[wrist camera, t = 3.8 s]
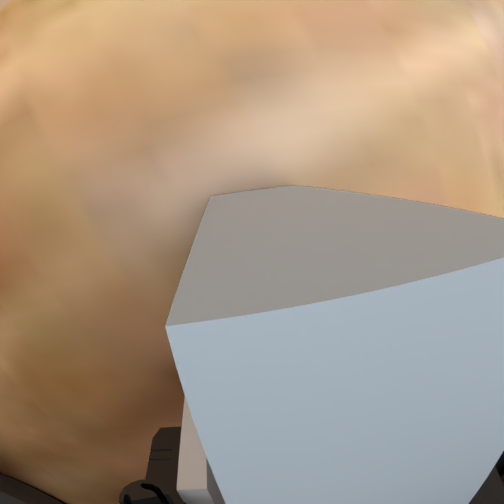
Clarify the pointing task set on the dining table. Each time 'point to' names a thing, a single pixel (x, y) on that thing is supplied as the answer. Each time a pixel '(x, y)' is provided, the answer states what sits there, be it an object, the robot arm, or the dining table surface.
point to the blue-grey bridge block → (343, 347)
